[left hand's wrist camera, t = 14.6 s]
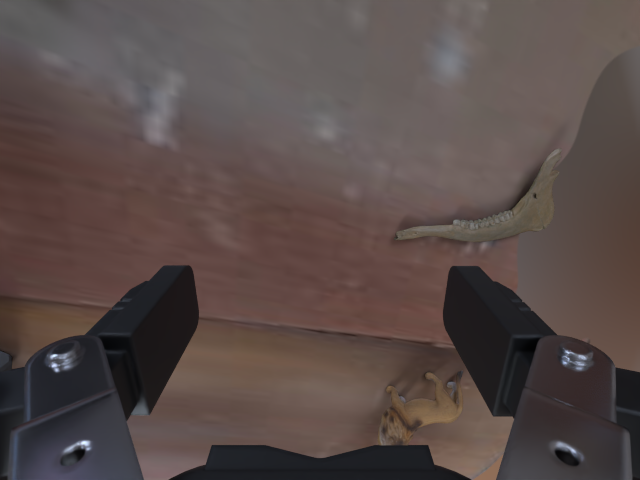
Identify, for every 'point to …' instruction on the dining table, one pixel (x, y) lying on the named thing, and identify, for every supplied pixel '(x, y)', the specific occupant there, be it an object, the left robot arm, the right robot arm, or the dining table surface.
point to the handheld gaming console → (5, 362)
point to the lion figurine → (419, 412)
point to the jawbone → (502, 214)
